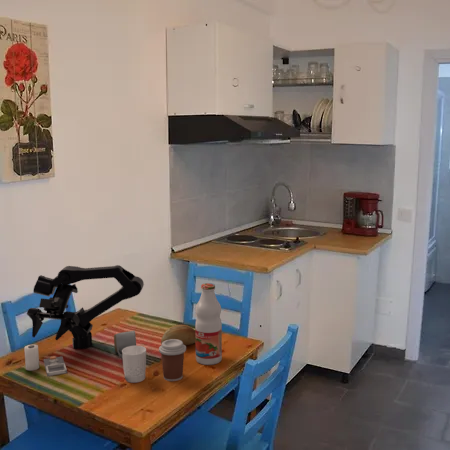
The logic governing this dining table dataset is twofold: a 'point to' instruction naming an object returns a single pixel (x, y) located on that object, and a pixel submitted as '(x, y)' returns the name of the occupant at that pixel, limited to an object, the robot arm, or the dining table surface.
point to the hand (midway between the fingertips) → (44, 338)
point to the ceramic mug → (124, 341)
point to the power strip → (55, 366)
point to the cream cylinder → (31, 357)
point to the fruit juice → (208, 327)
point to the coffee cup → (172, 359)
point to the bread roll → (180, 334)
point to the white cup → (134, 363)
